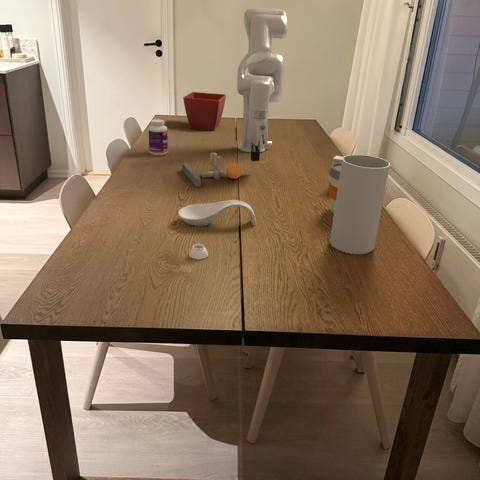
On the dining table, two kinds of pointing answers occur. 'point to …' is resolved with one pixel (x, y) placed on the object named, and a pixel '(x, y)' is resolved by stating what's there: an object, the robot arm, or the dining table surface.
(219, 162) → the back left pin
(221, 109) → the plant pot
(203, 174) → the front pin
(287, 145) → the dining table surface
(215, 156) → the back right pin
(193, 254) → the white jar
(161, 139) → the pill bottle
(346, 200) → the cylinder vase
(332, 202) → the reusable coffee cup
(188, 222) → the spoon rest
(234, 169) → the ball
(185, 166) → the back wall
